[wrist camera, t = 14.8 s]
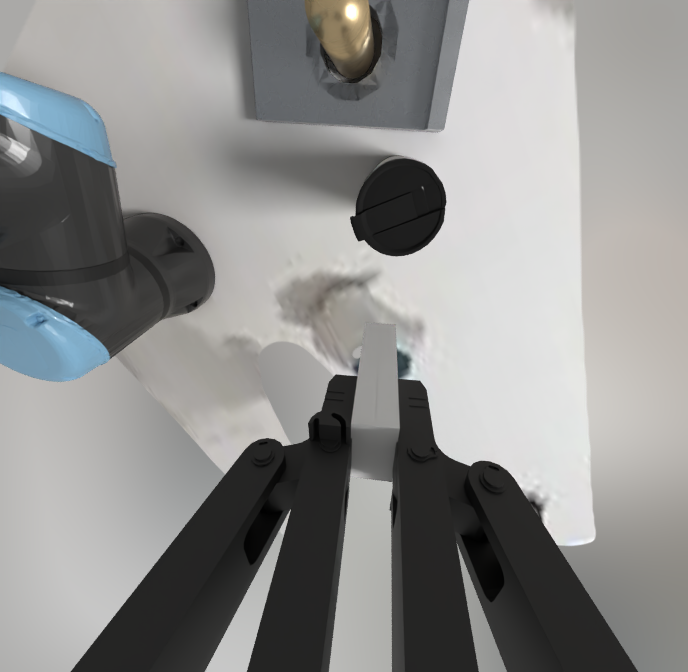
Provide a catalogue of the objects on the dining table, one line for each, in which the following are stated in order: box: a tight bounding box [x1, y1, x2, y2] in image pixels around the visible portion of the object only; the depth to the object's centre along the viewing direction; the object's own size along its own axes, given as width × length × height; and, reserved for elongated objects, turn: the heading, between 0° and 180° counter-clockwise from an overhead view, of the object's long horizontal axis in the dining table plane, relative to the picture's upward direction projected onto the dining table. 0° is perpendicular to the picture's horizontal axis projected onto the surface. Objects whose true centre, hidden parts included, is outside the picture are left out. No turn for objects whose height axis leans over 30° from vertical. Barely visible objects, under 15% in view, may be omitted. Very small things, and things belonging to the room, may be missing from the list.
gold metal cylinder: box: [305, 0, 374, 79], centre depth 26 cm, size 4×4×12 cm
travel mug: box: [350, 156, 446, 256], centre depth 28 cm, size 6×7×20 cm
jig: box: [247, 0, 469, 132], centre depth 29 cm, size 20×13×4 cm, turn 87°
